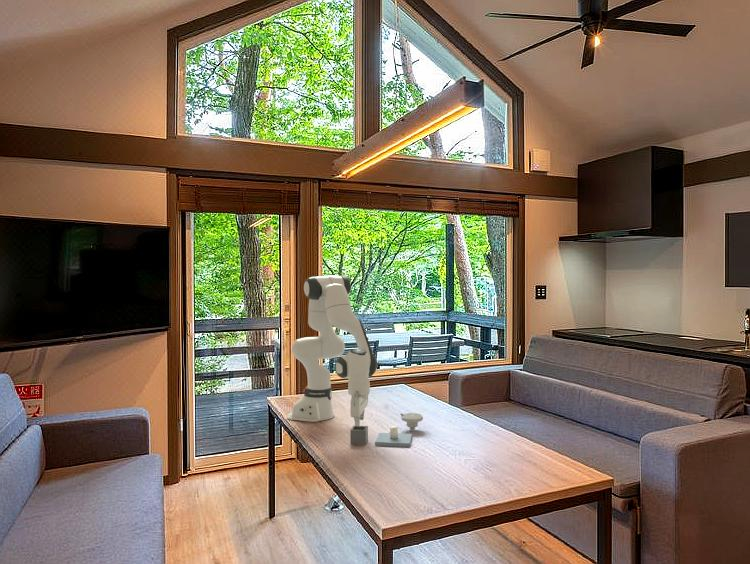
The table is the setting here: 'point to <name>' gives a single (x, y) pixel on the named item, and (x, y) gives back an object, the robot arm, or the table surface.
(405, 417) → the showerhead
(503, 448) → the table surface
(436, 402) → the table surface
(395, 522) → the table surface
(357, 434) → the collar
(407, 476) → the table surface
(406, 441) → the base
